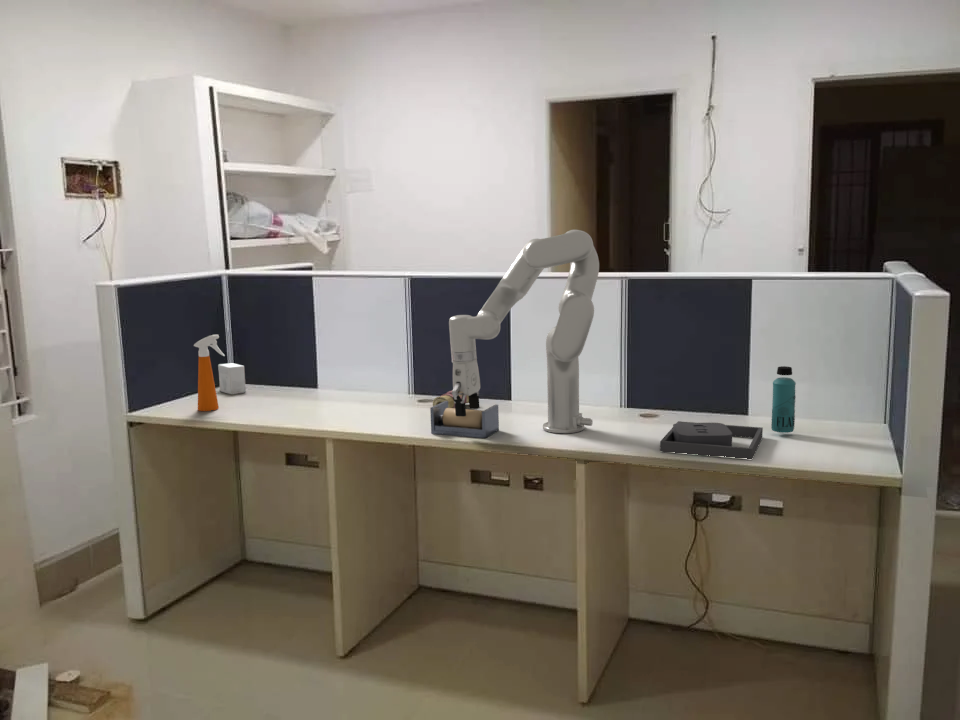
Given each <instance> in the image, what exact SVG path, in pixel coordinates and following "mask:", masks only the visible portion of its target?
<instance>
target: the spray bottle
mask: <svg viewBox="0 0 960 720" xmlns="http://www.w3.org/2000/svg"><path fill="white" fill-rule="evenodd" d="M219 335H220V334H212V335H211V334H210V335H207V336H206V337H203V338H202V339H200V340H198V341H196V342H195V343H194V344H193V347H195V348H198V354H197V355H198V361H197V362H198V363H197V364H198V367H197V368H198V370H197V371H198V372H197V374H198V376H197V411H199V412H212V411H211V410H213V411H215V410H218V409H219V408H220V407H219V402H218V396H217V389H216V386H215V380H214V379H215V378H214V374H213V368H212V362H211V357H210V351H209V350H210V349H208V348H209V347H211V348H212V349H213V350H215V351H216V352H217V353H218V354H219V355H221V356H223V357H225V356H226V355H225V354H224V353H223V351H222V350H221V349H220V348H219V346H218V341H217V340H218V339H219V338H220V336H219Z"/></svg>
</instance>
